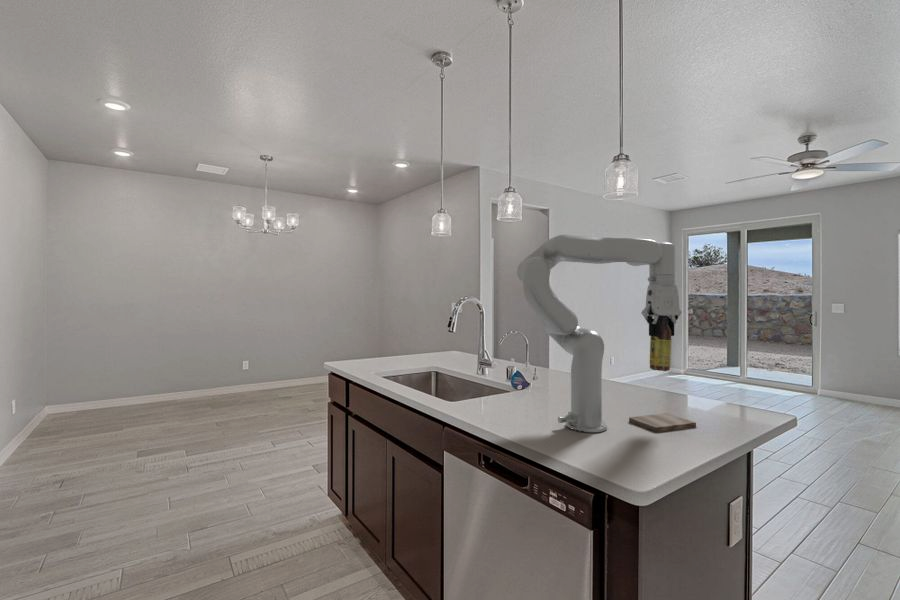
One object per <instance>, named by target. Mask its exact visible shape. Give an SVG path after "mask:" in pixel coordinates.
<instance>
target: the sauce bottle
mask: <svg viewBox="0 0 900 600" xmlns="http://www.w3.org/2000/svg"><path fill="white" fill-rule="evenodd" d="M656 324H658V336H650V337H649V338H650V341H649V342H650V344H649V369H650V370H653V371H661V372H668V371H670V369H671V360H672V358H671V357H672V356H671V355H672V336H671V329H670V327H669V326H668V316H658V319H657V322H656Z"/></svg>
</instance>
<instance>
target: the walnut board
mask: <svg viewBox="0 0 900 600" xmlns="http://www.w3.org/2000/svg"><path fill="white" fill-rule="evenodd" d="M628 421H629V423H631V424H633V423H634V424H633V425H636V426H638V425H639V426H638V427H641V428H643V429H647V430H649V431H652V432H654V433H661V432H670V431H678V430H685V429H691V428H692V429H693V428H697V422H696V421H694V420H689V419H686V418H683V417H681V416H677V415H674V414H671V413H667V412H665V413H657V414H655V413H654V414H648V415H641V416H640V415H638V416H630V417H628Z"/></svg>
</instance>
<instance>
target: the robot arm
mask: <svg viewBox="0 0 900 600" xmlns="http://www.w3.org/2000/svg"><path fill="white" fill-rule="evenodd" d="M561 262H570V263H582V264H584V263H585V264H592V265H593V264H595V265H600V264H601V265H603V264H612V263H626V264H628V265H629V266H633V267H639V266H645V265H649V268H648V269H649V277H648V278H647V281H648V282H649V284H648V285H647V290H646V295H645V296H646V297H645V307H644V308H643V310H642V311H641V313H640V314H641V315H642V316H643V318H644V319H645V321H646V323H647V324H648V336H649V337H651V336H658V324H656V322H657V319H658V316H668V326H669V327H670V329H671V337H674V336H675V324H676V323H677V320H678V319H679V317H681V314H682V310H681V309H680V298H679V297H680V296H679V291H678V287H677V285H676V282H675V281H676V278H675V277H676V271H675V270H676V268H675V267H676V246H675V245H674V244H673V243H672V242H658V241H656V240H653V239H647V238H636V237H633V238H632V237H608V236H607V237H605V236H603V237H600V236H599V237H598V236H596V237H595V236H585V235H573V234H559V235H555V236H553V237H552V238H549V239H548V240H546V241H545V242H544V243H542V244H541V245H540V246H538V248H536V249H535V250H534V251H533V252H531V254H529V255H528V256H526V257H525V258H524V259H523V260H522V261H520V263H519V264H518V265H517V268H516V275H517V278H518V279H519V281H520V282H521V283H522V289H523V293H524V294H523V295H524V297H525V300H526V302H527V303H528V305H529V306H530V307H531V308H532V310H533V311H534V312H535V313H536V314H537V315H538V316H539V319H540V320H539V321H540V325H541V327H542V329H543V330H544V331H545V332H546V333H547V334H548V336H550V337H551V338H552V339H553V340H554V341H555V342H556V343H557V344H558V345H559V347H560V348H562V350H564V351H565V352H566V353H568V354H570V355H572V361H571V366H570V411H569V412H567V415H565V416H563V415H562V416H558V417H557V421H558V423H559V424H563V423H565V426H566V425H567V426H568V427H570V428H573V429H575V430H574V431H576V430H579V431H578V432H581V431H584V432H583V433H601V432H604V431H607V429H608V425H607V423H606V422H604V421H603V405H602V403H603V394H602V393H603V390H602V389H603V385H602V384H603V383H602V381H603V379H602V377H603V375H602V373H603V372H602V370H603V369H602V368H603V359H604V353H605V342H604V338H602V336H601V335H600V334H599V333H598V332H596V331H595V330H592V329H589V328H582V327H580V326H579V319H578V317H577V314H576V312H574V311H573V310H572V309H571V308H570V307H569V306H568V305H567V304H566V303H565V302H563V300H562V299H561V298H560V297H559V296H558V295H557V294H556V293H555V291H554V290H553V289H552V287H551V285H550V275H551V270H552V269H553V268H555V267H556V266H557V264H559V263H561ZM567 426H566V427H567ZM568 427H567V428H568ZM570 428H569V429H570Z"/></svg>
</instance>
